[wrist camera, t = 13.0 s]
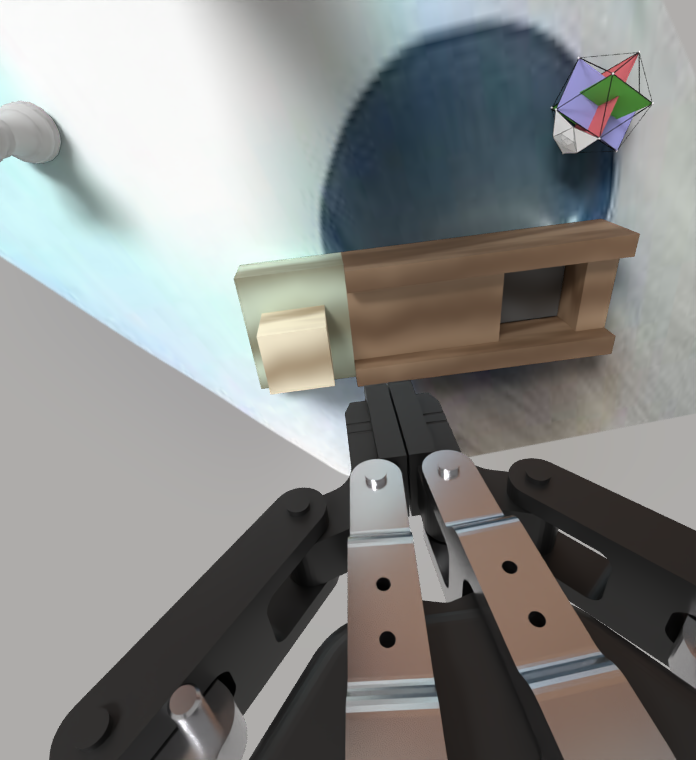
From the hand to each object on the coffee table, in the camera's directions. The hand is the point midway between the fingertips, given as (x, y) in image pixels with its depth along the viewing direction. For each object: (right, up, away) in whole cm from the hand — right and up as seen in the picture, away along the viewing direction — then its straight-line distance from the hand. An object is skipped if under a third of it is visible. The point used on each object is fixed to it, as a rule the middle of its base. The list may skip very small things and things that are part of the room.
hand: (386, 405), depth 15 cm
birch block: (-6, +5, +29) cm, 30 cm away
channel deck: (+7, +9, +32) cm, 34 cm away
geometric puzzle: (+19, +25, +24) cm, 39 cm away
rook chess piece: (-27, +21, +22) cm, 41 cm away
